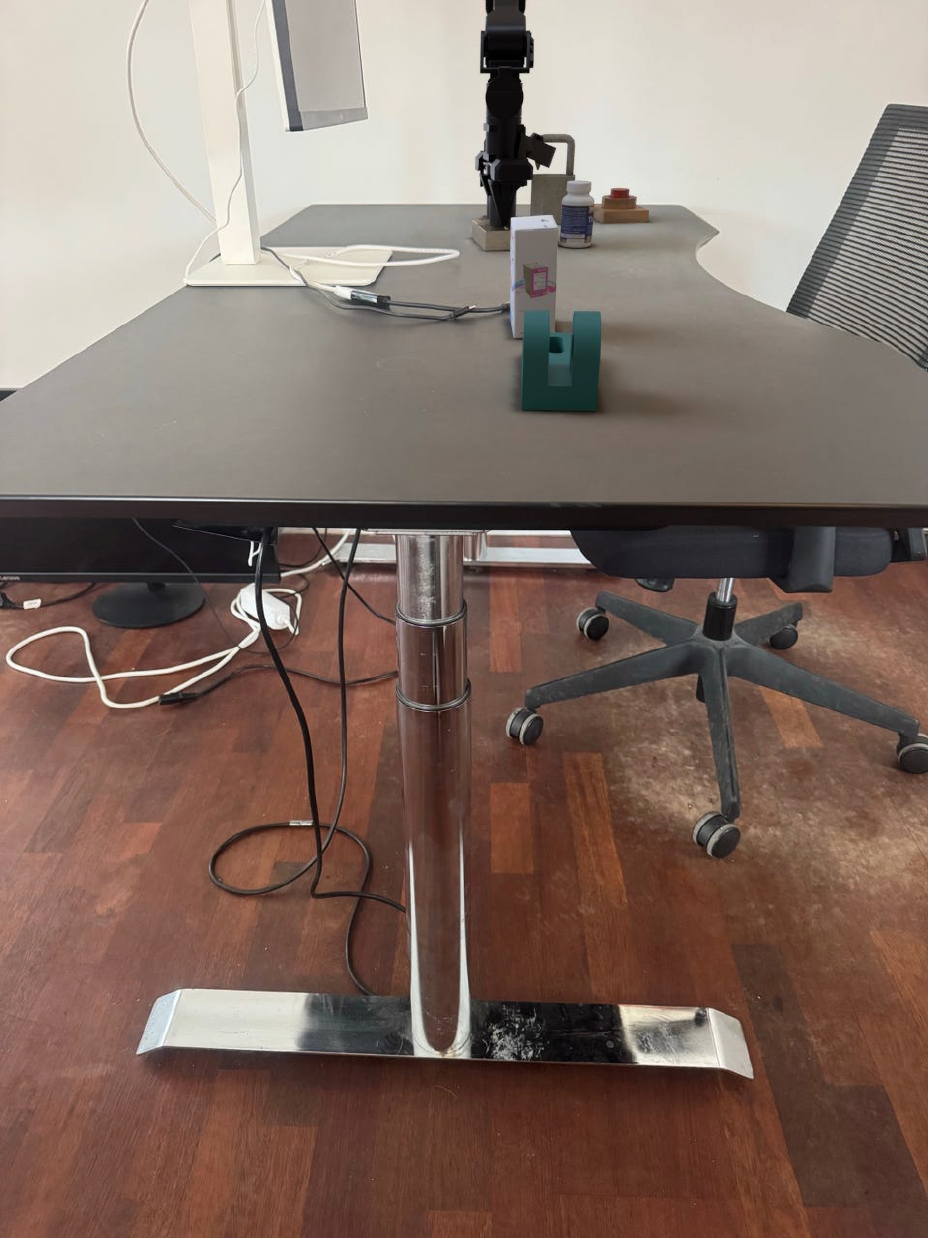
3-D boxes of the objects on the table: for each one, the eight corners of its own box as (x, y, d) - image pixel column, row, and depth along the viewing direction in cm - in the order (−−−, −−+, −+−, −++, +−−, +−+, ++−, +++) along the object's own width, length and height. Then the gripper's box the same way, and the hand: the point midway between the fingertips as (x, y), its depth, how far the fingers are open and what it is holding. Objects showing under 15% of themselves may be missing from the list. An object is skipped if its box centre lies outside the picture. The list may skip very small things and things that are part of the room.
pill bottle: (592, 248, 145) (597, 183, 140) (560, 248, 146) (564, 183, 140) (589, 242, 150) (594, 179, 145) (558, 242, 150) (561, 179, 145)
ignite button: (607, 197, 171) (608, 187, 170) (625, 197, 171) (626, 187, 170) (613, 200, 168) (614, 190, 167) (631, 199, 168) (632, 189, 167)
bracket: (595, 410, 79) (603, 322, 75) (521, 409, 79) (524, 321, 75) (584, 353, 94) (589, 277, 90) (521, 352, 94) (524, 276, 90)
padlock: (530, 220, 170) (533, 132, 162) (572, 221, 169) (577, 133, 161) (529, 224, 167) (532, 134, 158) (572, 224, 166) (578, 134, 158)
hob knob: (491, 226, 146) (492, 195, 143) (486, 222, 149) (486, 191, 147) (517, 225, 146) (518, 194, 144) (511, 221, 150) (512, 190, 147)
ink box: (507, 319, 106) (510, 213, 100) (548, 319, 106) (553, 213, 100) (511, 339, 99) (514, 226, 93) (555, 338, 99) (561, 225, 93)
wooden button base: (588, 215, 175) (589, 193, 173) (631, 214, 176) (633, 192, 174) (603, 223, 167) (605, 200, 165) (648, 222, 168) (650, 199, 166)
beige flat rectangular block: (470, 238, 154) (470, 218, 152) (527, 236, 155) (528, 217, 153) (483, 250, 144) (483, 230, 142) (543, 248, 145) (544, 228, 144)
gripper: (567, 118, 132) (561, 230, 141) (539, 113, 148) (535, 213, 156) (496, 119, 131) (494, 231, 139) (474, 113, 147) (474, 215, 155)
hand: (501, 222), depth 148 cm, fingers closed on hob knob, 4 cm apart
